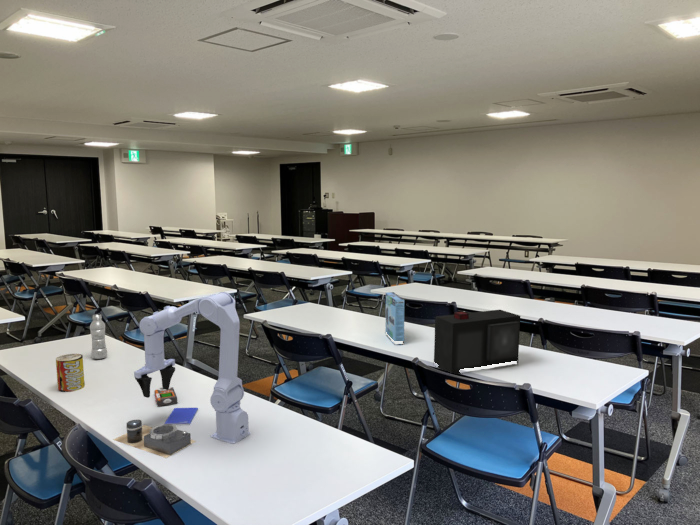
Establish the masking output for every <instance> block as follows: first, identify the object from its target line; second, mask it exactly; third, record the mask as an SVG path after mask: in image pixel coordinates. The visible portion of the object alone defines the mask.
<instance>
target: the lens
mask: <svg viewBox="0 0 700 525" xmlns="http://www.w3.org/2000/svg"><path fill="white" fill-rule="evenodd" d="M142 426H143V422H142V420H141V419H131V420H130V421H127V422H126V433H127V442H128V443H138V442H140V441H142V439H143V438H142Z"/></svg>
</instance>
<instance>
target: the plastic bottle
mask: <svg viewBox="0 0 700 525" xmlns="http://www.w3.org/2000/svg"><path fill="white" fill-rule="evenodd" d="M89 330H90V334H91V335H90V336H91V353H90V354H91V357H92V359H94V360H100V359H104V358H106V357H107V356H108V349H107V344H106V323H105V322H104V321H103V318H102V313H95V314H92V321H91V323H90V325H89Z"/></svg>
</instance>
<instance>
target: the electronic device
mask: <svg viewBox="0 0 700 525" xmlns="http://www.w3.org/2000/svg"><path fill="white" fill-rule="evenodd" d="M153 392H154V398H155V404H156V405H157V407H162V406H163V407H164V406H169V404H170V405H174V404H175V405H176V404H178V396H177V394H176V391H175V389H174V387H171V386H169V389H168V390H166V389H163V387H162V386H160V387H157V389H155V390H154V391H153Z"/></svg>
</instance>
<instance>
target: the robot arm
mask: <svg viewBox="0 0 700 525" xmlns="http://www.w3.org/2000/svg"><path fill="white" fill-rule="evenodd" d="M194 313H197V315H201V316H202V317H204V318H205V319H207V320H209V321H210V322H211V323H213V324H215V325H216V326H218V327H219V329H220V335H219V336H220V340H219V341H220V342H219V362H218V364H219V365H218V379H217V381H216V382H215V383H214V386H213V391H212V394H211V396H210V400H209V401H210V405H211V407H212V408H213V410H214V411H215V426H216V428H215V429H216V430H215V431H216V432H214V433H212V434H211V435H209V436H210V438H211V439H215V440H219V441H221V442H224V443H229V444H232V445H234V444H236V443H238V442H240V441H241V440H243V439H244V438H246V437H247V436H249V435H251V431H249V414H248V412H247V411H245V410H243V408H241V401H242V400H243V398H244V395H245V390H244V386H243V380H242V379H241V378H239V377H238V371H239V370H238V369H239V368H238V365H239V343H240V342H239V341H240V329H241V328H240V327H241V326H240V317H239V315H238V312H237V310H236V299H235V298H233V296H232V295H231V294H230V293H228V292H225V291H220V292H218V293H214V294H209V295H206V296H202V297H199V298H195V299H194V300H191V301H189V302H188V303H185V304H184V305H181V306H179V307H176V306H173V305H172V306H170V305H166V306H164V307H163V310H160V311H158V310H157V311H155V312H153V313H152V314H151V315H149V316H144V317H143V318H142V319H141V320H140V321H139V325H138V326H139V331H141V332H140V333H142V334H143V341H144V343H143V344H144V358H145V359H144V360H145V364H144V366H142V367H141V368H139V369H137V370H135V371H134V372H133V373H134V374H133V376H134V378H135V381H136V382H137V384H138V385H139V388H140V389H141V392H142V395H143V397H144V398H150V397H151V383H152V379H153V377H150V376H149V375H150V374H153V373H155V372H158V371H159V373H160V377H161V387H163V389H166V390H168V389H169V387H170V385H171V380H172V377H173V375H174V374H175V371H176V359H175V358H169V359H165V344H164V336H165V330H167V329H168V328H172V327H173V326H175V325H178V324H179V323H181V321H182V319H183V318H184V317H186V316H189V315H191V314H194Z"/></svg>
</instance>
